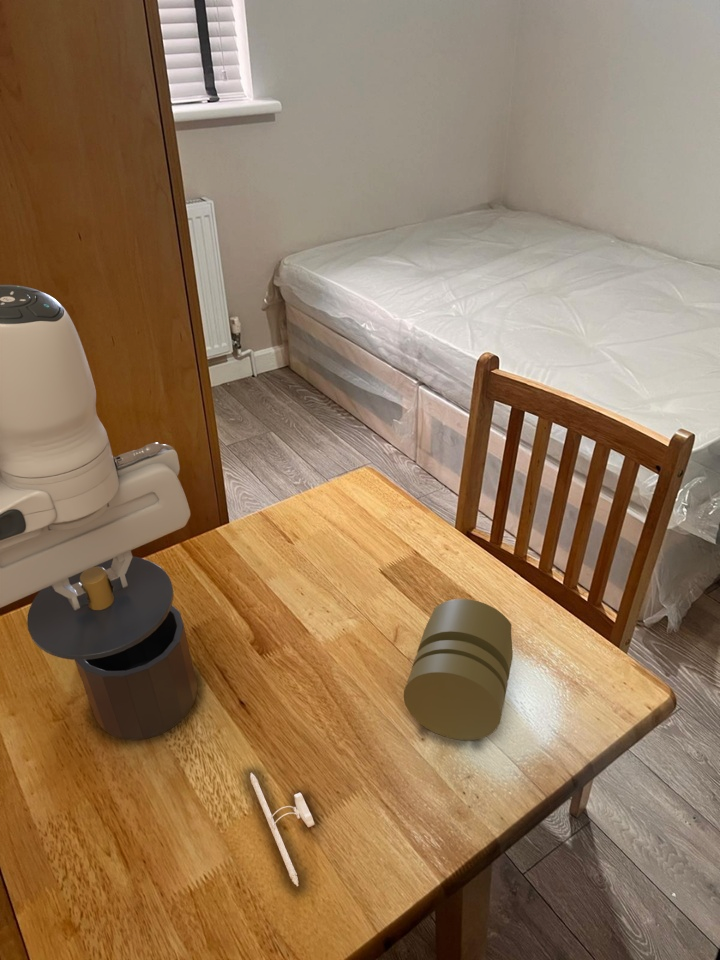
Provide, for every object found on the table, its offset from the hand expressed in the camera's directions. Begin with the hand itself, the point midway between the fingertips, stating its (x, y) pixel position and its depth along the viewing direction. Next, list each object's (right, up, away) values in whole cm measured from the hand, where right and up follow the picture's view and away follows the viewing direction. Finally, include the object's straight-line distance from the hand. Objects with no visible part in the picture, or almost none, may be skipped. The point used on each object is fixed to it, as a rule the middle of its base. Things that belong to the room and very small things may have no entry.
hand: (98, 595), depth 70 cm
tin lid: (0, -1, +1) cm, 2 cm away
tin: (-2, -16, +22) cm, 28 cm away
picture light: (+17, -26, +9) cm, 32 cm away
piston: (+38, -16, +21) cm, 46 cm away
